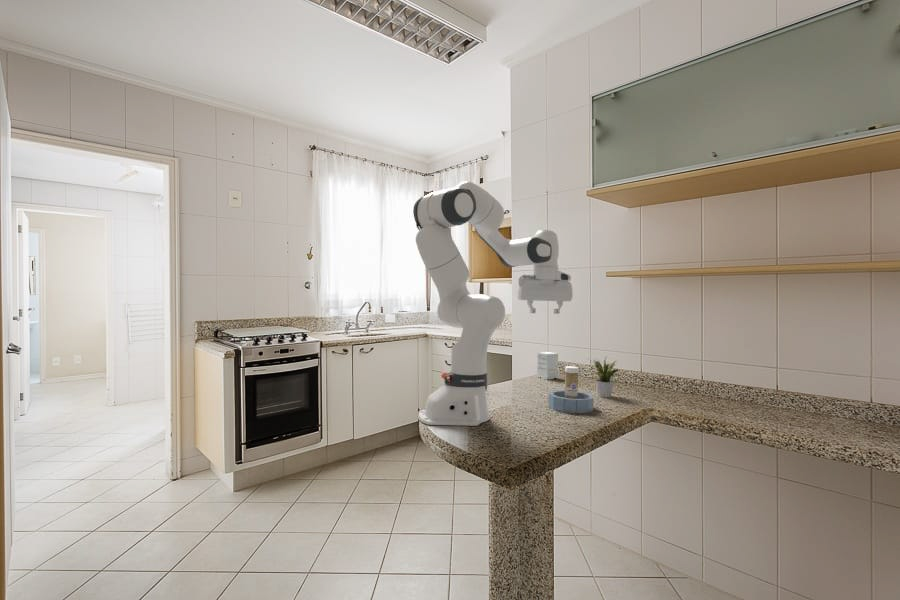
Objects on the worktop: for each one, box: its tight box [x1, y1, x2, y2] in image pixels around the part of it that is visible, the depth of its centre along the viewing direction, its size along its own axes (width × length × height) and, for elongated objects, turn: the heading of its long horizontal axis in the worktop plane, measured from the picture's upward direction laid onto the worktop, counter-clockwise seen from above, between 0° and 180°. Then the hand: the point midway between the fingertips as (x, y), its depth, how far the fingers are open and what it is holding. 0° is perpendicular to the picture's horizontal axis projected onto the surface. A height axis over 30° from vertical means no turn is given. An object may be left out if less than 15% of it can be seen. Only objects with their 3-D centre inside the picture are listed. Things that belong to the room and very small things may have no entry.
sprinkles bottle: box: [564, 365, 579, 399], centre depth 149 cm, size 5×5×14 cm
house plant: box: [587, 355, 620, 399], centre depth 169 cm, size 14×14×16 cm
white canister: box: [536, 351, 559, 380], centre depth 208 cm, size 7×7×13 cm
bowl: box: [548, 389, 594, 414], centre depth 149 cm, size 15×15×4 cm
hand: (544, 313), depth 153 cm, fingers open, 8 cm apart
